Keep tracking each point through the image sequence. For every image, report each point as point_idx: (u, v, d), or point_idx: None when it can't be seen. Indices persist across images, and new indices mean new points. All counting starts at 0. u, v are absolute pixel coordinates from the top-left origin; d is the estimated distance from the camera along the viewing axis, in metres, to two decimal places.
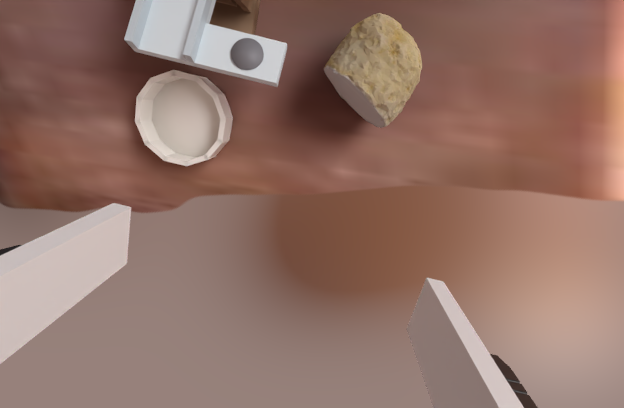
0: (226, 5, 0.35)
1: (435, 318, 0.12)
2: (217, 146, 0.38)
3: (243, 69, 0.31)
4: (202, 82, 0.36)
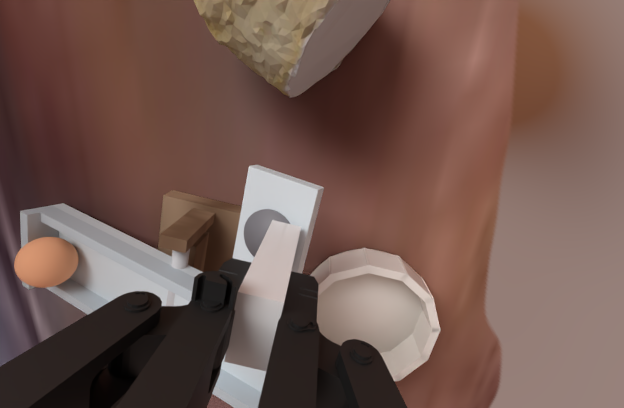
0: (208, 246, 0.25)
1: None
2: (412, 281, 0.23)
3: None
4: None
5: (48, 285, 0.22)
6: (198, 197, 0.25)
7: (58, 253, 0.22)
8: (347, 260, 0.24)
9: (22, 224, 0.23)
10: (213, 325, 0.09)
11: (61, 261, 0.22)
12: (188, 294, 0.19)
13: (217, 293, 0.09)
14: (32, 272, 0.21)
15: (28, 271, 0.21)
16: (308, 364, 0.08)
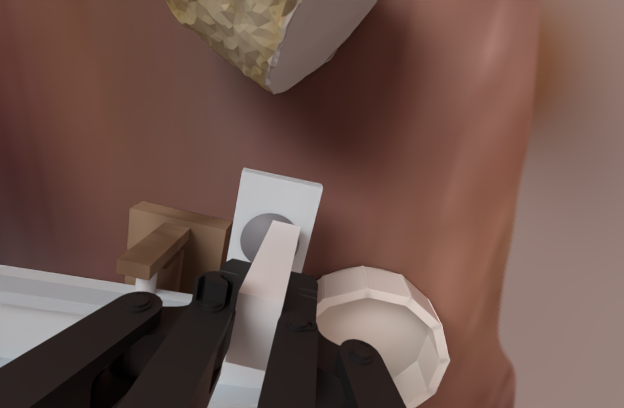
0: (184, 265, 0.21)
1: None
2: (418, 306, 0.20)
3: (298, 246, 0.17)
4: None
5: None
6: (172, 209, 0.22)
7: None
8: (343, 281, 0.21)
9: None
10: (214, 325, 0.09)
11: None
12: None
13: (218, 293, 0.09)
14: None
15: None
16: (307, 364, 0.08)
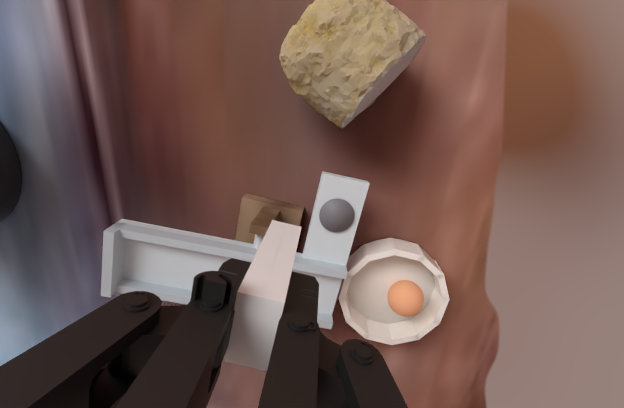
0: None
1: None
2: (428, 261, 0.31)
3: (353, 218, 0.28)
4: (352, 270, 0.32)
5: None
6: (265, 198, 0.33)
7: None
8: (378, 246, 0.32)
9: (106, 241, 0.26)
10: (213, 325, 0.09)
11: None
12: None
13: (217, 293, 0.09)
14: None
15: None
16: (308, 364, 0.08)
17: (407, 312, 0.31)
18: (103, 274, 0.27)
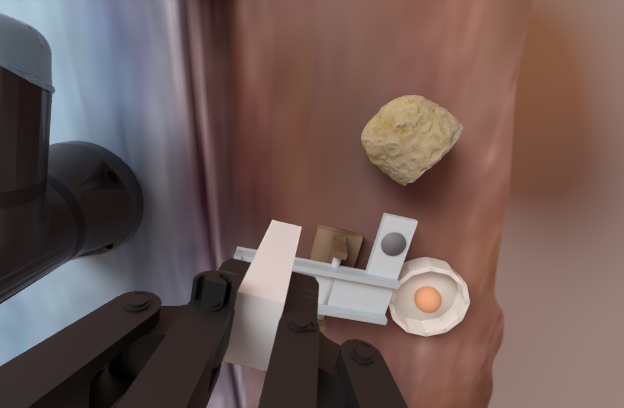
0: None
1: None
2: (455, 275, 0.42)
3: (405, 246, 0.40)
4: (400, 281, 0.43)
5: None
6: (333, 228, 0.44)
7: None
8: (417, 263, 0.44)
9: None
10: (213, 325, 0.09)
11: None
12: (354, 278, 0.39)
13: (217, 293, 0.09)
14: None
15: None
16: (308, 364, 0.08)
17: (420, 306, 0.43)
18: None
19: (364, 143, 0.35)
